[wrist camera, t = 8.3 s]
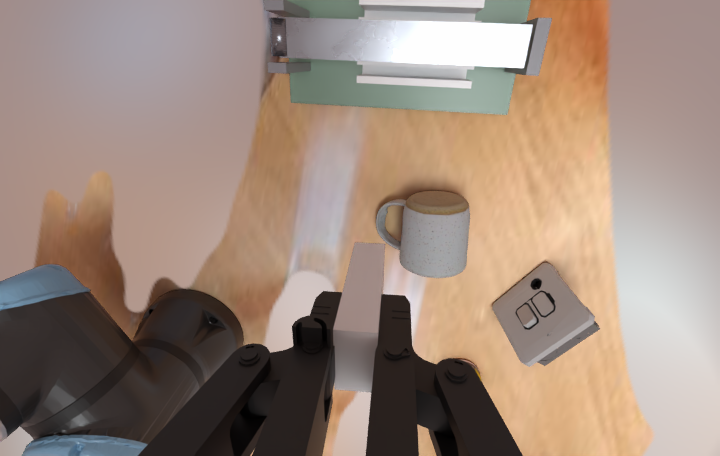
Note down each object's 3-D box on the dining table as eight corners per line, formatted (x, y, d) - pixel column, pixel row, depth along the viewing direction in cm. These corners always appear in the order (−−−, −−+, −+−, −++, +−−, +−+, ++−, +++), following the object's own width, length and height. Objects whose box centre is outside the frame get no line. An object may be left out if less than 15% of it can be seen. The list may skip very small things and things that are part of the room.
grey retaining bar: (275, 57, 32) (268, 57, 31) (273, 18, 31) (266, 16, 29) (520, 67, 29) (525, 68, 28) (528, 25, 28) (534, 23, 27)
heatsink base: (293, 101, 40) (263, 112, 32) (288, -28, 35) (251, -55, 27) (505, 113, 38) (531, 128, 30) (532, -23, 33) (573, -51, 25)
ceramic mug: (467, 187, 42) (476, 212, 35) (461, 249, 45) (469, 283, 39) (376, 186, 44) (369, 210, 37) (377, 246, 47) (371, 278, 40)
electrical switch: (545, 258, 45) (582, 308, 36) (573, 279, 46) (614, 333, 38) (489, 304, 48) (511, 359, 40) (516, 322, 50) (542, 379, 42)
